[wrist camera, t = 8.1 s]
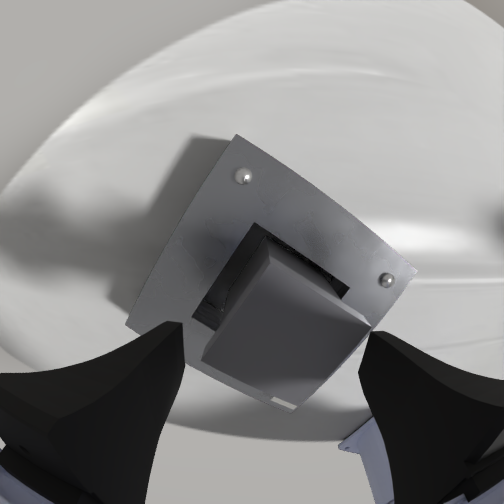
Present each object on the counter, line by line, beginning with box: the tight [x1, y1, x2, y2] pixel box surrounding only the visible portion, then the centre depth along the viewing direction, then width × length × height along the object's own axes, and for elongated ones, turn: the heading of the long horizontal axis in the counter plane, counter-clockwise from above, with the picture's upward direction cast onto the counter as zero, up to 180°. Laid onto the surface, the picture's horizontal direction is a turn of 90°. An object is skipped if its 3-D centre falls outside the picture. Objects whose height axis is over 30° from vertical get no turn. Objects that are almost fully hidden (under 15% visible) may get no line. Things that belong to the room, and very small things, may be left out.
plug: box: [201, 236, 372, 406], centre depth 13 cm, size 5×5×7 cm
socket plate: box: [125, 134, 417, 413], centre depth 15 cm, size 12×12×3 cm
